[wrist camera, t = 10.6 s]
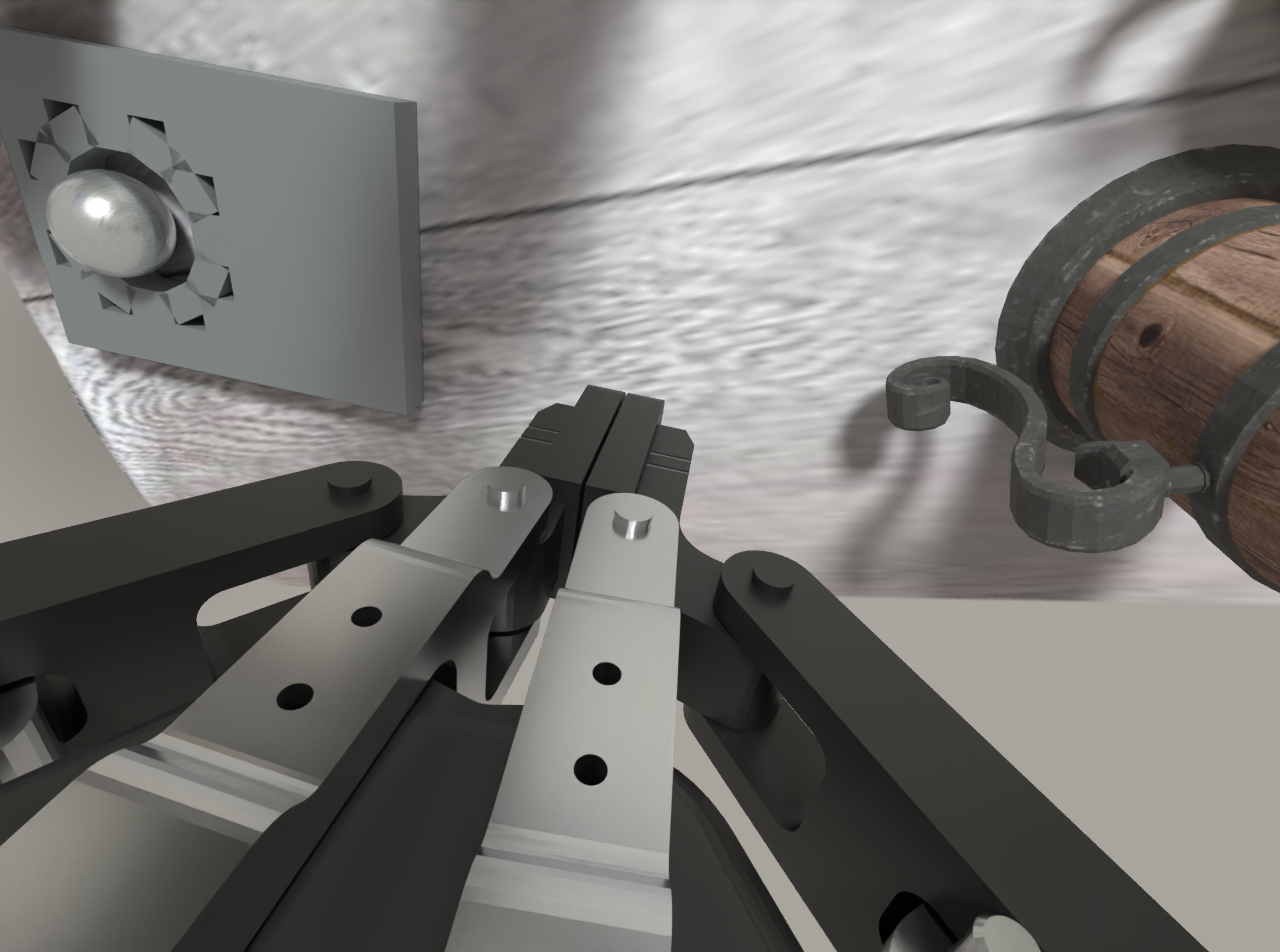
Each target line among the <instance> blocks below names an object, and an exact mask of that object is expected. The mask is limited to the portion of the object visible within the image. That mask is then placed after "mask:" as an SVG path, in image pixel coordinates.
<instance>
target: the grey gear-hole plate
mask: <svg viewBox="0 0 1280 952" xmlns="http://www.w3.org/2000/svg"><path fill="white" fill-rule="evenodd" d="M0 131H1V135H2V138H3V141H4V144H5V147H6V150H7V153H8V156H9V159H10V162H11V165H12V169H13V172H14V175H15V178H16V181H17V184H18V187H19V190H20V193H21V196H22V199H23V203H24V206H25V209H26V212H27V215H28V218H29V221H30V224H31V227H32V230H33V233H34V237H35V240H36V243H37V246H38V249H39V252H40V255H41V258H42V261H43V264H44V267H45V271H46V274H47V277H48V280H49V283H50V286H51V289H52V292H53V295H54V298H55V301H56V305H57V308H58V311H59V314H60V317H61V320H62V323H63V326H64V329H65V332H66V335H67V339H68V342H69V343H73V344H77V345H82V346H86V347H91V348H96V349H100V350H105V351H110V352H114V353H119V354H123V355H128V356H133V357H137V358H142V359H146V360H151V361H156V362H160V363H165V364H170V365H174V366H179V367H183V368H188V369H193V370H197V371H202V372H206V373H211V374H216V375H220V376H225V377H230V378H234V379H239V380H243V381H248V382H253V383H257V384H262V385H266V386H271V387H276V388H280V389H285V390H290V391H294V392H299V393H303V394H308V395H313V396H317V397H322V398H326V399H331V400H336V401H340V402H345V403H350V404H354V405H359V406H363V407H368V408H373V409H377V410H382V411H386V412H391V413H396V414H400V415H405V416H407V415H408V414H409V413H410V412H412V411H413V410H414V409H415V408H416V407H417V406H418V405H419V404H421V403H422V402H423V401H424V394H423V354H422V314H421V273H420V233H419V192H418V152H417V111H416V102H413V101H407V100H402V99H397V98H391V97H386V96H380V95H375V94H370V93H364V92H359V91H354V90H348V89H343V88H337V87H332V86H327V85H321V84H316V83H310V82H305V81H300V80H294V79H289V78H284V77H278V76H273V75H267V74H262V73H257V72H251V71H246V70H241V69H235V68H230V67H224V66H219V65H214V64H208V63H203V62H197V61H192V60H187V59H181V58H176V57H171V56H165V55H160V54H154V53H149V52H144V51H138V50H133V49H128V48H122V47H117V46H111V45H106V44H101V43H95V42H90V41H85V40H79V39H74V38H68V37H63V36H58V35H52V34H47V33H41V32H36V31H31V30H25V29H20V28H15V27H7V26H0ZM118 151H121V152H126V153H130V154H132V155H133V156H134V157H136V158H137V159H138V160H139V161H141V162H142V163H143V164H145V165H146V166H147V167H149V168H150V169H151V170H153V171H154V172H155V173H157V174H158V175H159V176H161V177H162V178H163V179H164V180H165V181H166V182H167V184H168V185H169V187H170V189H171V190H172V192H173V193H174V195H175V196H176V198H177V199H178V201H179V202H180V204H181V206H182V207H183V209H184V210H185V212H186V213H187V215H188V216H189V219H190V224H191V229H192V234H193V239H194V244H195V249H196V254H197V255H196V257H195V260H194V263H193V266H192V268H191V271H190V274H189V276H188V279H187V282H183V281H179V280H174V279H169V278H164V277H162V276H160V275H159V274H157V273H156V272H155V271H154V272H152V273H150V274H147V275H144V276H139V277H131V278H122V277H113V276H108V275H104V274H101V273H98V272H95V271H93V270H90V269H88V268H86V267H85V266H83V265H81V264H80V263H78V262H77V261H75V260H74V259H73V258H71V257H70V256H69V255H68V254H67V253H66V252H65V251H64V250H63V249H62V248H61V247H60V246H59V244H58V243H57V241H56V240H55V239H54V237H53V235H52V233H51V231H50V228H49V226H48V222H47V217H46V205H47V200H48V197H49V195H50V193H51V191H52V189H53V188H54V186H55V185H56V184H57V183H58V182H59V181H61V180H62V179H63V178H65V177H67V176H69V175H70V174H72V173H75V172H78V171H83V170H90V169H105V166H106V163H107V159H108V157H110V156H112V155H113V154H115V153H117V152H118Z"/></svg>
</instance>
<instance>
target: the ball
mask: <svg viewBox="0 0 1280 952" xmlns="http://www.w3.org/2000/svg"><path fill="white" fill-rule="evenodd" d="M46 217H47V222H48V226H49V228H50V231H51V233H52V235H53V237H54V239H55V240H56V241H57V243H58V244H59V246H60V247H61V248H62V249H63V250H64V251H65V252H66V253H67V254H68V255H69V256H70V257H71V258H73V259H74V260H75V261H77V262H78V263H80V264H81V265H83V266H85V267H86V268H88V269H90V270H93V271H95V272H98V273H101V274H104V275H108V276H113V277H122V278H131V277H139V276H144V275H147V274H150V273H152V272H154V271H156V270H157V269H159V268H160V267H162V266H163V265H164V264H165V263H166V262H167V261H168V260H169V258H170V257H171V255H172V253H173V251H174V249H175V245H176V226H175V222H174V219H173V217H172V214H171V212H170V211H169V209H168V207H167V206H166V204H165V203H164V202H163V200H162V199H161V198H160V197H159V196H158V195H157V194H156V193H155V192H154V191H153V190H151V189H150V188H149V187H148V186H146V185H145V184H143V183H142V182H140V181H138V180H136V179H134V178H133V177H130V176H128V175H125V174H123V173H119V172H115V171H111V170H105V169H90V170H83V171H78V172H75V173H72V174H70V175H69V176H67V177H65V178H63V179H62V180H61V181H59V182H58V183H57V184H56V185H55V186H54V188H53V189H52V191H51V193H50V195H49V197H48V200H47V205H46Z"/></svg>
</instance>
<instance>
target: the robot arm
mask: <svg viewBox="0 0 1280 952" xmlns="http://www.w3.org/2000/svg"><path fill="white" fill-rule="evenodd" d="M664 402H665V401H664V400H660V399H655V398H650V397H646V396H641V395H636V394H631V393H627V395H626V393H625V392H621V391H617V390H612V389H607V388H602V387H598V386H593V385H588V386H587V387H586V389H585V390H584V392H583V394H582V395H581V397H580V399H579V400H578V402H577V403H576V405H575V407H573V406H568V405H564V404H559V403H556V404H554V405H552V406H550V407H547V408H545V409H543V410H541V411H539V412H538V413H537V414H536V416H535V417H534V419H533V420H532V421H531V423H530V424H529V427H527V428H526V430H525V431H524V433H523V434H522V435H521V438H519V440H518V441H517V442H516V444H515V445H514V446H513V448H512V449H511V451H510V452H509V453H508V455H507V456H506V458H505V459H504V460H503V462H502V463H501V465H500V466H499V467H491V468H485V469H481V470H478V471H476V472H473V473H471V474H470V475H468V476H467V477H465V478H464V479H463V480H462V481H461V482H460V483H459V484H458V485H457V486H456V487H455V488H454V490H453V491H452V492H451V493H450V494H449V495H448V496H406V495H403V491H402V481H401V478H400V477H399V475H398V474H397V473H396V472H395V471H393V470H392V469H390V468H388V467H386V466H383V465H381V464H377V463H372V462H366V461H346V462H338V463H333V464H328V465H324V466H320V467H316V468H312V469H308V470H303V471H299V472H295V473H291V474H287V475H283V476H278V477H274V478H270V479H266V480H262V481H258V482H254V483H249V484H245V485H241V486H237V487H233V488H229V489H224V490H220V491H216V492H212V493H208V494H204V495H199V496H195V497H191V498H187V499H183V500H179V501H175V502H170V503H166V504H162V505H158V506H154V507H150V508H146V509H141V510H137V511H133V512H129V513H125V514H121V515H117V516H112V517H108V518H104V519H100V520H96V521H92V522H88V523H83V524H79V525H75V526H71V527H66V528H63V529H58V530H54V531H50V532H46V533H42V534H38V535H33V536H29V537H25V538H21V539H17V540H13V541H8V542H4V543H0V952H804V951H803V949H802V947H801V946H800V944H799V942H798V941H797V939H796V937H795V936H794V934H793V932H792V931H791V929H790V927H789V925H788V924H787V922H786V920H785V919H784V917H783V915H782V914H781V912H780V910H779V909H778V907H777V905H776V903H775V902H774V900H773V898H772V897H771V895H770V893H769V891H768V890H767V888H766V886H765V885H764V883H763V882H762V880H761V878H760V877H759V875H758V873H757V871H756V869H755V868H754V866H753V864H752V863H751V861H750V859H749V858H748V856H747V854H746V853H745V851H744V849H743V848H742V846H741V844H740V843H739V841H738V839H737V837H736V836H735V834H734V832H733V831H732V829H731V828H730V826H729V824H728V823H727V821H726V820H725V819H724V817H723V816H722V815H721V814H720V812H719V811H718V810H717V808H716V807H715V806H714V804H713V803H712V802H711V801H710V799H709V798H708V797H707V796H706V795H705V794H704V793H703V792H702V791H701V790H700V789H699V788H698V787H697V786H696V785H695V784H694V783H693V782H692V781H691V780H689V779H688V778H687V777H686V776H685V775H684V774H682V773H681V772H680V771H679V770H677V769H675V768H674V767H673V759H674V740H675V719H676V699H677V700H679V701H681V702H682V703H684V709H683V710H684V717H685V720H686V723H687V724H688V727H689V728H690V730H691V732H692V733H693V734H694V736H695V738H696V739H697V741H698V742H699V744H700V745H701V746H702V748H703V750H704V751H705V753H706V754H707V756H708V757H709V759H710V760H711V762H712V763H713V765H714V766H715V768H716V769H717V771H718V772H719V774H720V775H721V777H722V778H723V780H724V781H725V783H726V784H727V786H728V787H729V789H730V790H731V792H732V794H733V795H734V796H735V798H736V799H737V801H738V803H739V804H740V806H741V807H742V809H743V810H744V812H745V813H746V815H747V816H748V817H749V819H750V821H751V822H752V823H753V825H754V827H755V828H756V830H757V831H758V832H759V834H760V836H761V837H762V839H763V840H764V842H765V843H766V845H767V846H768V848H769V849H770V851H771V852H772V854H773V855H774V857H775V858H776V860H777V862H778V863H779V865H780V866H781V868H782V869H783V870H784V872H785V874H786V875H787V877H788V878H789V879H790V881H791V882H792V884H793V885H794V887H795V889H796V890H797V892H798V893H799V895H800V896H801V898H802V899H803V901H804V902H805V904H806V905H807V907H808V908H809V910H810V911H811V913H812V914H813V916H814V917H815V919H816V920H817V922H818V923H819V925H820V926H821V928H822V929H823V931H824V932H825V934H826V936H827V937H828V938H829V940H830V942H831V943H832V945H833V946H834V948H835V949H836V950H837V952H1209V951H1207V950H1206V949H1205V948H1204V947H1203V946H1202V945H1201V944H1200V943H1199V942H1198V941H1197V940H1196V939H1195V938H1194V937H1193V936H1192V935H1191V934H1190V933H1189V932H1187V931H1186V930H1185V929H1184V928H1183V927H1182V926H1181V925H1180V924H1179V923H1178V922H1177V921H1176V920H1175V919H1174V918H1173V917H1172V916H1171V915H1170V914H1168V912H1166V911H1165V910H1164V909H1163V908H1162V907H1161V906H1160V905H1159V904H1158V903H1157V902H1156V901H1155V900H1154V899H1152V897H1151V896H1150V895H1148V894H1147V893H1146V892H1145V891H1144V890H1143V889H1142V888H1141V887H1140V886H1139V885H1138V884H1137V883H1136V882H1135V881H1134V880H1133V879H1132V878H1131V877H1130V876H1128V874H1126V873H1125V872H1124V871H1123V870H1122V869H1121V868H1120V867H1119V866H1118V865H1117V864H1116V863H1115V862H1114V861H1113V860H1112V859H1110V857H1109V856H1108V855H1106V854H1105V853H1104V852H1103V851H1102V850H1101V849H1100V848H1099V847H1098V846H1097V845H1096V844H1095V843H1094V842H1093V841H1092V840H1091V839H1090V838H1089V837H1088V836H1086V835H1085V834H1084V833H1083V832H1082V831H1081V830H1080V829H1079V828H1078V827H1077V826H1076V825H1075V824H1074V823H1073V822H1072V821H1071V820H1070V819H1069V818H1067V817H1066V816H1065V815H1064V814H1063V813H1062V812H1061V811H1060V810H1059V809H1058V808H1057V807H1056V806H1055V805H1054V804H1053V803H1052V802H1051V801H1050V800H1049V799H1048V798H1047V797H1045V796H1044V795H1043V794H1042V793H1041V792H1040V791H1039V790H1038V789H1037V788H1036V787H1035V786H1034V785H1033V784H1032V783H1031V782H1030V781H1029V780H1028V779H1027V778H1025V777H1024V776H1023V775H1022V774H1021V773H1020V772H1019V771H1018V770H1017V769H1016V768H1015V767H1014V766H1013V765H1012V764H1011V763H1010V762H1009V761H1007V759H1006V758H1004V757H1003V756H1002V755H1001V754H1000V753H999V752H998V751H997V750H996V749H995V748H994V747H993V746H992V745H991V744H990V743H989V742H988V741H987V740H985V739H984V738H983V737H982V736H981V735H980V734H979V733H978V732H977V731H976V730H975V729H974V728H973V727H972V726H971V725H970V724H969V723H968V722H967V721H965V720H964V719H963V718H962V717H961V716H960V715H959V714H958V713H957V712H956V711H955V710H954V709H953V708H952V707H951V706H950V705H948V703H946V701H944V700H943V699H942V698H941V697H940V696H939V695H938V694H937V693H936V692H935V691H934V690H933V689H932V688H931V687H930V686H929V685H928V684H926V682H925V681H923V680H922V679H921V678H920V677H919V676H918V675H917V674H916V673H915V672H914V671H913V670H912V669H911V668H910V667H909V666H908V665H907V664H906V663H905V662H903V661H902V660H901V659H900V658H899V657H898V656H897V655H896V654H895V653H894V652H893V651H892V650H891V649H890V648H888V646H887V645H885V644H884V643H883V642H882V641H881V640H880V639H879V638H878V637H877V636H876V635H875V634H874V633H873V632H872V631H871V630H870V629H869V628H868V627H867V626H865V624H863V623H862V622H861V621H860V620H859V619H858V618H857V617H856V616H855V615H854V614H853V613H852V612H851V611H850V610H849V609H848V608H847V607H846V606H845V605H844V604H842V603H841V602H840V601H839V600H838V599H837V598H836V597H835V596H834V595H833V594H832V593H831V592H830V591H829V590H828V589H827V588H826V587H825V586H824V585H822V584H821V583H820V582H819V581H818V580H817V579H816V578H815V577H814V576H813V575H812V574H811V573H810V572H809V571H808V570H806V569H805V568H804V567H803V566H801V565H800V564H798V563H797V562H795V561H793V560H791V559H789V558H787V557H784V556H782V555H779V554H775V553H772V552H766V551H757V550H755V551H744V552H740V553H737V554H735V555H733V556H731V557H730V558H728V559H727V560H726V562H725V563H722V562H720V561H718V560H715V559H713V558H711V557H709V556H707V555H705V554H704V553H702V552H701V551H699V550H698V549H696V548H695V547H694V546H693V545H691V543H690V542H689V541H688V540H687V539H686V538H685V536H684V535H683V533H682V531H681V528H680V515H681V510H682V505H683V500H684V495H685V489H686V484H687V479H688V474H689V469H690V464H691V459H692V454H693V449H694V444H693V442H692V440H691V439H690V437H689V435H688V433H687V432H686V430H682V429H677V428H672V427H668V426H663V425H661V420H662V415H663V409H664ZM306 563H307V565H308V572H309V579H310V585H311V591H310V592H307V593H304V594H301V595H298V596H296V597H293V598H290V599H287V600H284V601H281V602H279V603H276V604H273V605H270V606H267V607H265V608H262V609H259V610H256V611H253V612H250V613H247V614H245V615H242V616H239V617H236V618H233V619H231V620H228V621H225V622H222V623H219V624H216V625H213V626H197V621H196V618H197V614H198V611H199V609H200V608H201V606H202V605H203V604H204V602H206V601H207V600H208V599H209V598H211V597H212V596H214V595H215V594H217V593H219V592H221V591H224V590H227V589H230V588H233V587H236V586H239V585H242V584H245V583H248V582H251V581H254V580H257V579H260V578H263V577H266V576H269V575H272V574H275V573H278V572H281V571H285V570H288V569H291V568H294V567H297V566H300V565H303V564H306ZM549 598H554V599H555V602H554V605H553V608H552V612H551V615H550V619H549V622H548V625H547V629H546V633H545V636H544V639H543V642H542V646H541V649H540V652H539V656H538V659H537V663H536V666H535V670H534V673H533V677H532V680H531V683H530V686H529V690H528V693H527V696H526V700H525V703H524V705H500V704H501V702H502V700H503V699H504V697H505V695H506V693H507V691H508V689H509V687H510V686H511V684H512V682H513V680H514V678H515V676H516V674H517V672H518V671H519V668H520V667H521V664H522V663H523V661H524V659H525V657H526V656H527V653H528V652H529V650H530V648H531V646H532V644H533V642H534V641H535V639H536V637H537V635H538V632H539V626H540V618H541V615H542V613H543V612H544V610H545V607H546V605H547V603H548V600H549ZM783 697H784V698H785V699H784V698H783ZM785 700H786V701H787V702H788V703H789V704H790V705H789V704H788V703H787V702H786V701H785ZM790 706H791V707H792V708H793V709H794V710H793V709H792V708H791V707H790ZM794 711H795V712H796V713H797V714H798V715H799V716H798V715H797V714H796V713H795V712H794ZM799 717H800V718H801V719H802V720H803V721H804V722H803V721H802V720H801V719H800V718H799ZM804 723H805V724H806V725H807V726H808V727H809V728H808V727H807V726H806V725H805V724H804ZM809 729H810V730H811V731H812V732H813V733H812V732H811V731H810V730H809ZM813 734H814V735H815V736H816V737H815V736H814V735H813Z"/></svg>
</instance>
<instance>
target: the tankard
mask: <svg viewBox="0 0 1280 952" xmlns="http://www.w3.org/2000/svg"><path fill="white" fill-rule="evenodd" d="M995 353H996V362H997V366H996V365H994V364H991V363H988V362H985V361H981V360H978V359H975V358H968V357H959V356H936V357H929V358H921V359H918V360H914V361H910V362H907V363H905V364H903V365H901V366H899V367H897V368H896V369H895V370H893V371H892V372H891V373H890V374H889V376H888V377H887V380H886V396H887V409H888V419H889V420H890V421H891V422H892V423H893V424H894V425H895V426H896V427H898V428H901V429H904V430H909V431H923V430H930V429H935V428H937V427H939V426H941V425H943V424H945V422H946V421H947V419H948V417H949V415H950V401H955V402H961V403H966V404H970V405H972V406H975V407H977V408H980V409H982V410H985V411H987V412H988V413H990V414H992V415H993V416H995V417H997V418H998V419H1000V420H1001V421H1003V422H1004V423H1005V424H1006V425H1007V426H1008V427H1009V428H1010V429H1011V430H1013V431H1014V432H1015V433H1016V435H1017V436H1018V440H1017V443H1016V445H1015V447H1014V449H1013V452H1012V458H1011V486H1010V509H1011V511H1012V514H1013V517H1014V519H1015V522H1016V523H1017V525H1018V526H1019V527H1020V528H1021V529H1022V530H1023V531H1024V532H1025V533H1026V534H1027V535H1028V536H1029V537H1030V538H1032V539H1034V540H1036V541H1039V542H1041V543H1043V544H1045V545H1047V546H1050V547H1054V548H1058V549H1062V550H1066V551H1070V552H1084V553H1100V552H1108V551H1115V550H1119V549H1122V548H1125V547H1127V546H1130V545H1133V544H1136V543H1137V542H1138V541H1140V540H1141V539H1142V538H1143V537H1145V536H1146V535H1147V534H1148V533H1150V532H1151V531H1152V530H1153V529H1154V527H1155V526H1156V524H1157V523H1158V521H1159V519H1160V518H1161V517H1162V511H1163V505H1164V498H1165V497H1169V498H1170V499H1172V500H1173V501H1174V502H1175V503H1176V504H1177V505H1179V506H1180V507H1181V508H1182V509H1183V510H1184V511H1185V512H1187V513H1188V514H1189V515H1190V516H1191V517H1192V518H1194V519H1195V520H1196V521H1197V523H1198V525H1199V526H1200V528H1201V529H1202V531H1203V533H1204V534H1205V536H1206V537H1207V539H1208V540H1210V541H1211V542H1212V543H1213V544H1214V545H1215V546H1216V547H1217V548H1219V549H1220V550H1221V551H1222V552H1223V553H1224V554H1225V555H1226V556H1227V557H1229V558H1230V559H1231V560H1232V561H1233V562H1234V563H1235V564H1237V565H1238V566H1239V567H1240V568H1241V569H1242V570H1243V571H1245V572H1246V573H1247V574H1248V575H1249V576H1250V577H1251V578H1253V579H1254V580H1256V581H1258V582H1260V583H1262V584H1264V585H1265V586H1267V587H1269V588H1271V589H1273V590H1275V591H1277V592H1279V593H1280V149H1277V148H1274V147H1268V146H1251V145H1234V144H1231V145H1224V146H1216V147H1208V148H1201V149H1193V150H1189V151H1186V152H1183V153H1179V154H1176V155H1173V156H1170V157H1166V158H1163V159H1160V160H1157V161H1153V162H1151V163H1148V164H1146V165H1144V166H1142V167H1140V168H1138V169H1136V170H1134V171H1132V172H1130V173H1128V174H1126V175H1124V176H1122V177H1120V178H1118V179H1116V180H1113V181H1112V182H1110V183H1109V184H1107V185H1106V186H1105V187H1103V188H1102V189H1100V190H1099V191H1097V192H1096V193H1094V194H1093V195H1091V196H1090V197H1088V198H1087V199H1086V200H1084V201H1083V202H1081V203H1080V204H1078V205H1077V206H1076V207H1075V208H1074V209H1073V210H1072V211H1071V212H1070V213H1068V214H1067V215H1066V216H1065V217H1064V218H1063V219H1062V220H1061V221H1060V222H1059V223H1058V224H1057V225H1055V226H1054V227H1053V228H1052V229H1051V230H1050V231H1049V232H1048V233H1047V235H1046V236H1045V237H1044V238H1043V240H1042V241H1041V242H1040V243H1039V245H1038V246H1037V247H1036V248H1035V250H1034V251H1033V252H1032V253H1031V255H1030V256H1029V257H1028V258H1027V260H1026V261H1025V263H1024V265H1023V266H1022V268H1021V270H1020V272H1019V274H1018V275H1017V277H1016V279H1015V281H1014V283H1013V284H1012V286H1011V288H1010V290H1009V292H1008V295H1007V298H1006V301H1005V304H1004V307H1003V310H1002V313H1001V316H1000V318H999V322H998V330H997V338H996V346H995ZM1046 440H1048V441H1049V442H1051V443H1053V444H1055V445H1057V446H1059V447H1061V448H1063V449H1066V450H1069V451H1073V452H1076V458H1075V471H1074V475H1075V478H1077V479H1078V480H1080V481H1081V482H1083V483H1084V484H1086V485H1087V486H1088V487H1090V488H1091V489H1092V490H1074V489H1069V488H1064V487H1059V486H1056V485H1054V484H1051V483H1049V482H1047V481H1045V480H1043V479H1042V478H1041V475H1042V472H1043V470H1044V468H1045V449H1046Z"/></svg>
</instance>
